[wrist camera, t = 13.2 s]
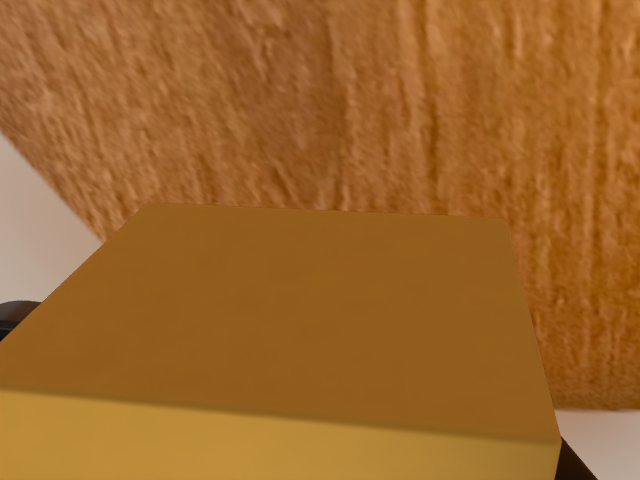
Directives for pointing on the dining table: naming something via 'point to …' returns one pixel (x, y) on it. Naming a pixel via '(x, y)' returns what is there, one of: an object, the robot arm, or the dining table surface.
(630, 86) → the dining table surface
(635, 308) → the dining table surface
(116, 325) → the yellow toy cube
